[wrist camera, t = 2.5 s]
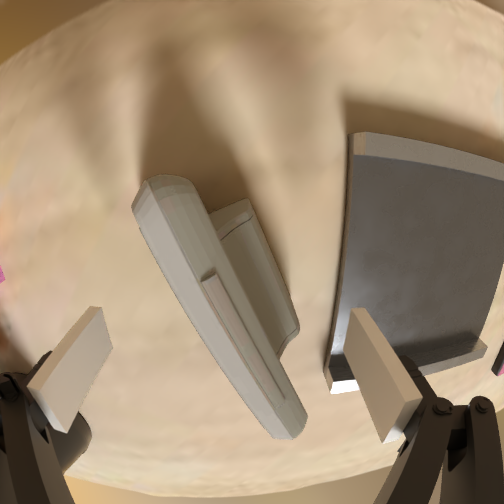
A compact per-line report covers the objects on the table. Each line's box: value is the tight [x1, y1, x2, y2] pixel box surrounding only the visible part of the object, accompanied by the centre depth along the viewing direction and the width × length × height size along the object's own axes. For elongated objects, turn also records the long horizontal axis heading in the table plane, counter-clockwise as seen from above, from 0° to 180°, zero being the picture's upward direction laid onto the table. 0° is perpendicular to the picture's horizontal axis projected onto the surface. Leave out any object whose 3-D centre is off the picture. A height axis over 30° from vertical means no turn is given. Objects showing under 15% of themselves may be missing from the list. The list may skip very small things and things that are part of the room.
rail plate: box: [323, 132, 504, 394], centre depth 21 cm, size 20×21×3 cm
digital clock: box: [131, 174, 307, 440], centre depth 16 cm, size 16×9×11 cm, turn 11°
